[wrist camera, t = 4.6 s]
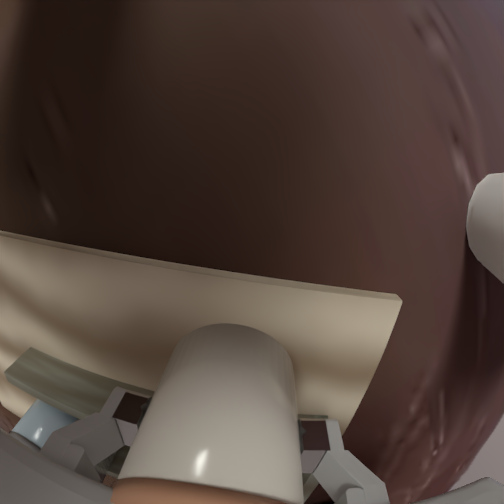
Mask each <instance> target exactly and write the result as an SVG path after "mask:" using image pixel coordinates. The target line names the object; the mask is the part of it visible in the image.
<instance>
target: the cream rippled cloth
mask: <svg viewBox="0 0 504 504" xmlns="http://www.w3.org/2000/svg"><path fill="white" fill-rule="evenodd" d="M402 302H403V301H402V300H401V299H400V298H399V297H398V296H397V294H391V293H382V292H374V291H366V290H358V289H350V288H342V287H335V286H327V285H320V284H312V283H305V282H298V281H291V280H284V279H277V278H270V277H263V276H256V275H249V274H243V273H236V272H230V271H223V270H217V269H210V268H204V267H198V266H192V265H185V264H179V263H173V262H167V261H161V260H155V259H149V258H143V257H138V256H132V255H126V254H120V253H115V252H109V251H104V250H98V249H93V248H87V247H82V246H76V245H71V244H66V243H61V242H55V241H50V240H45V239H40V238H35V237H30V236H25V235H20V234H15V233H10V232H6V231H1V230H0V401H1V403H2V405H3V406H4V407H5V408H7V409H8V410H10V411H11V412H13V413H14V414H16V415H17V416H19V417H20V418H22V417H23V416H24V414H25V413H26V412H27V410H28V409H29V408H30V407H31V405H32V404H33V403H34V402H35V400H36V399H39V400H41V401H43V402H45V403H46V404H48V405H50V406H52V407H54V408H56V409H59V410H61V411H63V412H65V413H67V414H69V415H71V416H74V417H76V418H78V419H82V418H85V417H87V416H89V415H91V414H93V413H95V412H97V413H100V411H101V409H102V408H103V406H104V404H105V403H106V401H107V399H108V398H109V396H110V394H111V393H112V391H113V389H114V388H116V387H117V386H118V387H121V388H124V389H127V390H131V391H134V392H137V393H140V394H144V395H147V396H151V397H153V395H154V392H155V390H156V388H157V386H158V384H159V381H160V379H161V377H162V375H163V373H164V370H165V368H166V366H167V364H168V362H169V359H170V357H171V355H172V353H173V351H174V349H175V347H176V345H177V344H178V342H179V341H180V340H181V339H182V338H183V337H184V336H185V335H187V334H188V333H190V332H191V331H193V330H195V329H198V328H200V327H203V326H207V325H211V324H219V323H230V324H239V325H244V326H248V327H252V328H255V329H257V330H260V331H262V332H264V333H266V334H267V335H269V336H271V337H272V338H274V339H275V340H276V341H278V342H279V343H280V344H281V345H282V346H283V347H284V349H285V350H286V351H287V353H288V355H289V356H290V358H291V361H292V364H293V370H294V380H295V391H296V402H297V413H298V419H299V418H307V419H337V420H338V423H339V427H340V432H341V436H342V435H343V434H344V432H345V430H346V428H347V427H348V425H349V423H350V421H351V419H352V417H353V416H354V414H355V412H356V410H357V408H358V406H359V404H360V402H361V400H362V398H363V396H364V394H365V392H366V390H367V388H368V386H369V384H370V382H371V379H372V377H373V375H374V373H375V371H376V368H377V366H378V364H379V362H380V359H381V357H382V355H383V352H384V350H385V347H386V345H387V342H388V340H389V337H390V335H391V332H392V330H393V327H394V324H395V322H396V319H397V316H398V313H399V310H400V307H401V305H402ZM130 448H131V447H130V446H127V445H124V446H123V447H121V448H120V449H118V451H117V453H116V455H115V457H114V459H113V461H112V463H111V465H110V468H109V470H108V472H107V475H109V476H112V477H115V478H117V479H118V476H119V474H120V471H121V469H122V467H123V464H124V462H125V459H126V457H127V455H128V452H129V450H130ZM302 480H303V496H304V502H305V501H306V500H307V498H308V497H309V496H310V494H311V493H312V492H313V491H314V489H315V488H316V487H317V485H318V484H319V482H318V481H317V479H316V478H315V477H314V475H313V473H302Z"/></svg>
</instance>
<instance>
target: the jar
mask: <svg viewBox="0 0 504 504" xmlns="http://www.w3.org/2000/svg"><path fill="white" fill-rule="evenodd" d="M110 487H112V488H113V493H112V496H111V500H110V502H111V503H114V504H304V496H303V480H302V465H301V451H300V437H299V425H298V413H297V402H296V391H295V380H294V370H293V364H292V361H291V358H290V356H289V355H288V353H287V351H286V350H285V349H284V347H283V346H282V345H281V344H280V343H279V342H278V341H276V340H275V339H274V338H272V337H271V336H269V335H267V334H266V333H264V332H262V331H260V330H257V329H255V328H252V327H248V326H244V325H239V324H230V323H219V324H211V325H207V326H203V327H200V328H198V329H195V330H193V331H191V332H190V333H188V334H187V335H185V336H184V337H183V338H182V339H181V340H180V341H179V342H178V344H177V345H176V347H175V349H174V351H173V353H172V355H171V357H170V359H169V362H168V364H167V366H166V368H165V370H164V373H163V375H162V377H161V379H160V381H159V384H158V386H157V388H156V390H155V392H154V395H153V397H152V399H151V401H150V404H149V406H148V408H147V411H146V413H145V415H144V417H143V420H142V422H141V424H140V427H139V429H138V431H137V433H136V436H135V438H134V440H133V443H132V445H131V448H130V450H129V452H128V455H127V457H126V459H125V462H124V464H123V467H122V469H121V471H120V474H119V476H118V479H117V480H116V481H114V482H113V483H112V484H111V486H110Z"/></svg>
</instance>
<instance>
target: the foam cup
mask: <svg viewBox="0 0 504 504" xmlns="http://www.w3.org/2000/svg"><path fill="white" fill-rule="evenodd" d="M466 231H467V237H468V243H469V247H470V249H471V250H472V252H473V254H474V255H475V257H476V259H477V260H478V261H480V262H481V263H482V265H483V266H484V267H486V268H487V269H488V270H489V271H490V272H491V273H492V274H493V275H495V276H496V277H497V278H498V279H499V280H500V281H501V282H502V283H503V284H504V173H495V174H488V175H487V176H486V177H485V178H484V179H483V180H482V181H481V182H480V183H479V184H478V185H477V186H476V188H475V190H474V193H473V195H472V197H471V200H470V202H469V204H468V213H467V221H466Z"/></svg>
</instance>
